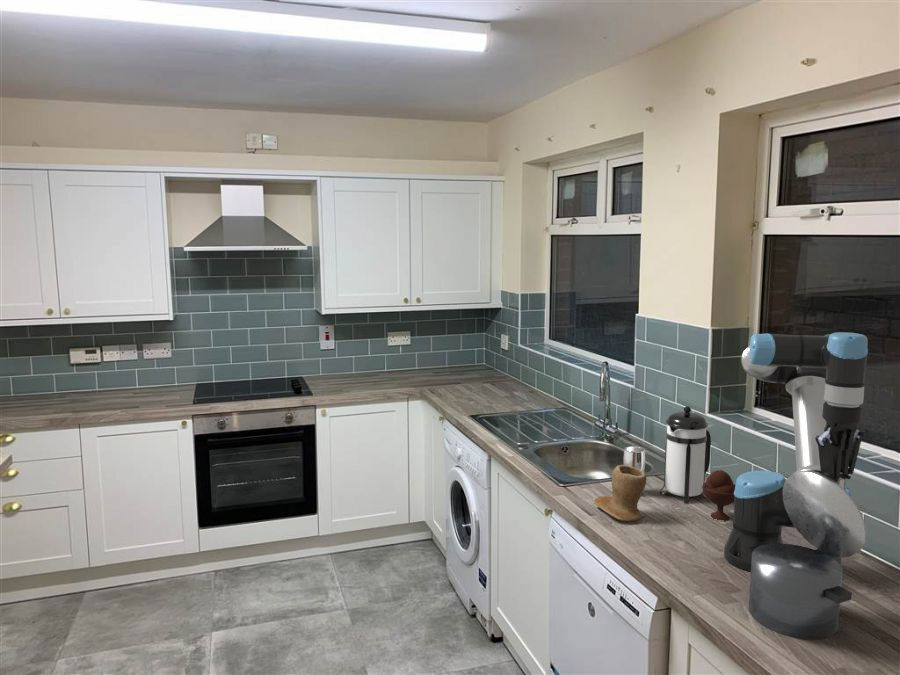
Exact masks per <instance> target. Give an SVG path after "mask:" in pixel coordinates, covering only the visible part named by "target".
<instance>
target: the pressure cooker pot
mask: <svg viewBox="0 0 900 675" xmlns="http://www.w3.org/2000/svg"><path fill="white" fill-rule="evenodd" d="M746 554H747V555H748V556H750V557H752V562H751V571H750V579H749V580H750V581H749V595H748V612H749V613H750V614H749V615H750V616H752V618H753V619H754V620H755V621H756V622H757V623H758V624H760V625H762V626H763V627H765V628H766V629H769V630H771V631H772V632H776V633H778V634H781V635H784V636H787V637H792V638H796V639H801V640H821V639H828V638H830V637H832V636H833V635H835V634H836V633H837V632H838V630H839V624H840V623H839V622H840V612H841V611H840V608H841V604H842V603H845V602H849V601H851V600H852V596H853V595H852V594H853V592H852V591H849V590H848V589H846V588H844V587H843V576H844V575H843V574H844V569H843V567H842V558H840V557H834V556H831V555H828V554H826V553H824V552H822V551H820V550H819V549H817V548H815V549H813V548H809V547H806V546H802V545H797V544H790V543H783V544H779V543H776V544H766V545H761V546H760V545H757V546H753V547H749V548H747V550H746Z"/></svg>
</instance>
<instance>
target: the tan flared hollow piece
mask: <svg viewBox="0 0 900 675" xmlns="http://www.w3.org/2000/svg"><path fill="white" fill-rule="evenodd" d="M611 477H612V478H611V489H612V496H610V495H604V496H603V495H602V496H601V495H600V496H598V497H596V498H594V499H593V501H592V502H593V504H594V505H595V506H597V507H598V508H599V509H601V510H602V511H604V512H605V513H606V514H608V515H609V516H610V517H612V518H614V519H617V520H618V521H620V522H621V521H622V522H633V521H638V520H640V519H642V518H643V514H642V512H641V511H640V510H639V509H638V503H639V500H640V498H641V497H642V495H643V494H642V493H644V491H645V489H646V485H647V474H646V473H645V471H644V472H643V471H641V470H639V469H637V468H634V467H630V466H626V465H623V464H619V465H617V466H616V467H614V469H613V471H612V476H611Z"/></svg>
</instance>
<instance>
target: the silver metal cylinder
mask: <svg viewBox="0 0 900 675" xmlns="http://www.w3.org/2000/svg"><path fill="white" fill-rule="evenodd" d="M622 461H623V464H622V465H626V466H630V467H634V468H637V469H639V470H641V471H643V472H644V473H645V468H646V449H645V448H644V447H641V446H634V445H631V446H625V447H624V451H623V460H622Z"/></svg>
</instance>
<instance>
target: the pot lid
mask: <svg viewBox="0 0 900 675" xmlns="http://www.w3.org/2000/svg"><path fill="white" fill-rule="evenodd" d="M795 472H796V471H795ZM795 472H793V473H794V474H793V473H792V474H791V475H789V476H788V477H787V478H786V481H785V483H784V486H783V502H784V506H785V509H786V511H787V514H788V516H789V518H790V520H791V521H792V523H793V525H794V526H795V528H794V529H796V530H797V531H798V533H799V534H800V535H801V536H802V537H803V539H805V541H807V543H809V544H810V545H811V546H813V548H815V549H819V550H820V551H822V552H824V553H826V554H828V555H831V556H834V557H840V558H841V559H842V558H843V559H844V558H850V557H852V556H854V555H856V554H857V553H859V552H860V551H861V550H862V549H863V547H864V545H865V544H866V541H867V540H866V539H867V528H866V522H865V519H864V517H863V514H862V512H861V510H860V508H859V506H858V505H857V503H856V502H855V500H854V499H853V498H852V495H851V496H850V495H849V494H848V493H847V492H846V491H845V490H844V489H843V488H842V487H841V486H840V485H839V484H838V483H836V482H835V481H834V480H832V479H831V478H829V477H827V476H825V475H823V474H821V473H818V472H815V471H810V470H803V471H799V472H796V473H795Z"/></svg>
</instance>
